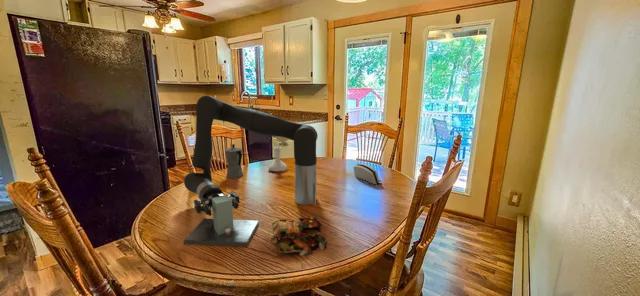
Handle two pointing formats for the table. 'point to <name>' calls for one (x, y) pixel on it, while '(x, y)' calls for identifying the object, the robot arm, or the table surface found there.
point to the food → (295, 242)
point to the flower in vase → (278, 164)
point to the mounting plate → (209, 236)
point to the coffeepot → (234, 162)
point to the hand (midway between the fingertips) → (223, 209)
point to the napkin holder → (366, 173)
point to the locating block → (222, 214)
